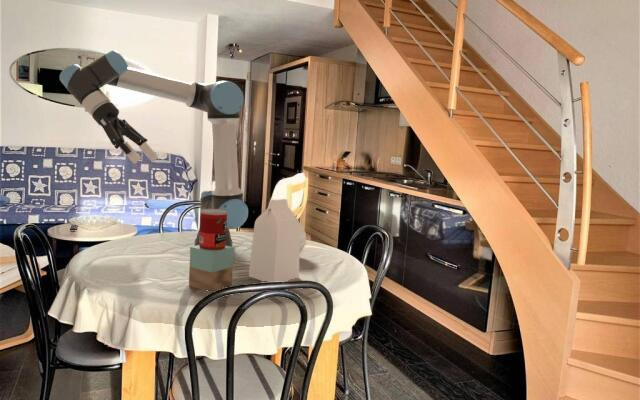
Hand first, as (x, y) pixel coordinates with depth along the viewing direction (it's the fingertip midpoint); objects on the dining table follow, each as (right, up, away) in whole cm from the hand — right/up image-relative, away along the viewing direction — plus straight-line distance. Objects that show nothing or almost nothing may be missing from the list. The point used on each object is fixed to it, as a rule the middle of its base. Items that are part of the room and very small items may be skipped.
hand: (147, 160), depth 152 cm
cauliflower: (+40, -35, +32) cm, 62 cm away
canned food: (+22, -27, -8) cm, 36 cm away
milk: (+39, -38, +7) cm, 55 cm away
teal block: (+22, -33, -7) cm, 40 cm away
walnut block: (+22, -39, -6) cm, 45 cm away
